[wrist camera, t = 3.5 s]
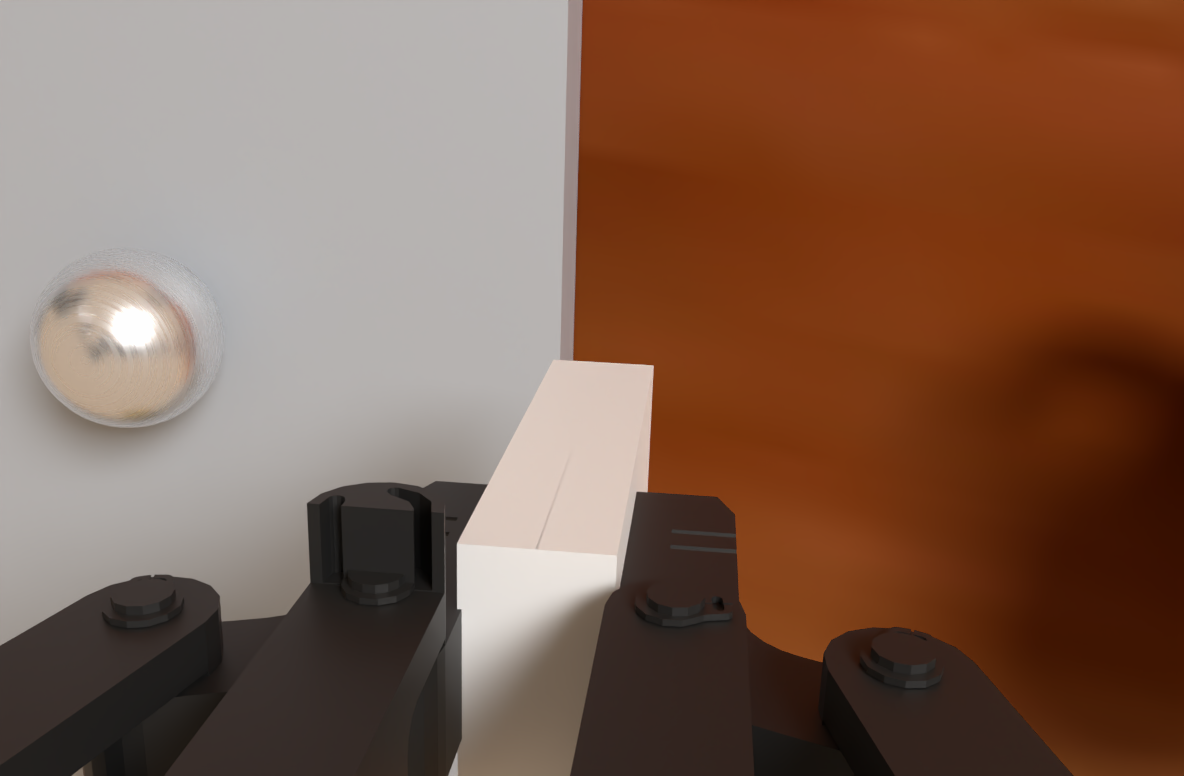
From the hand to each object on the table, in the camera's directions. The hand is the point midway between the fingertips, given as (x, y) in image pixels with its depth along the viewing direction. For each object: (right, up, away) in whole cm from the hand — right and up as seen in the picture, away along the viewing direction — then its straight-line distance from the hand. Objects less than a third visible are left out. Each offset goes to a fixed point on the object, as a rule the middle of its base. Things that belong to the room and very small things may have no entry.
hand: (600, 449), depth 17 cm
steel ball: (-9, +2, +4) cm, 10 cm away
